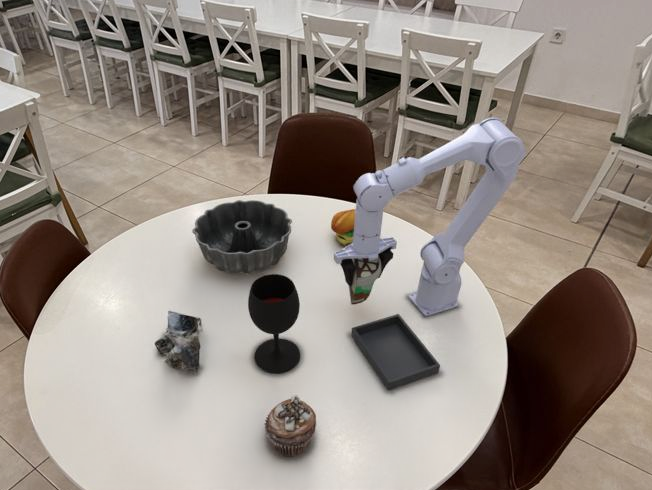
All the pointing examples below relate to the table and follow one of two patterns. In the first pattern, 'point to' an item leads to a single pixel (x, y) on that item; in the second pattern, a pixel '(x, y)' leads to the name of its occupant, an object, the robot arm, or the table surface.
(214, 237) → the bundt pan
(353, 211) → the cheeseburger
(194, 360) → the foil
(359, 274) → the food container
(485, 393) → the table surface
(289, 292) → the wine glass
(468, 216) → the robot arm
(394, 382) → the dark gray tray
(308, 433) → the cupcake
